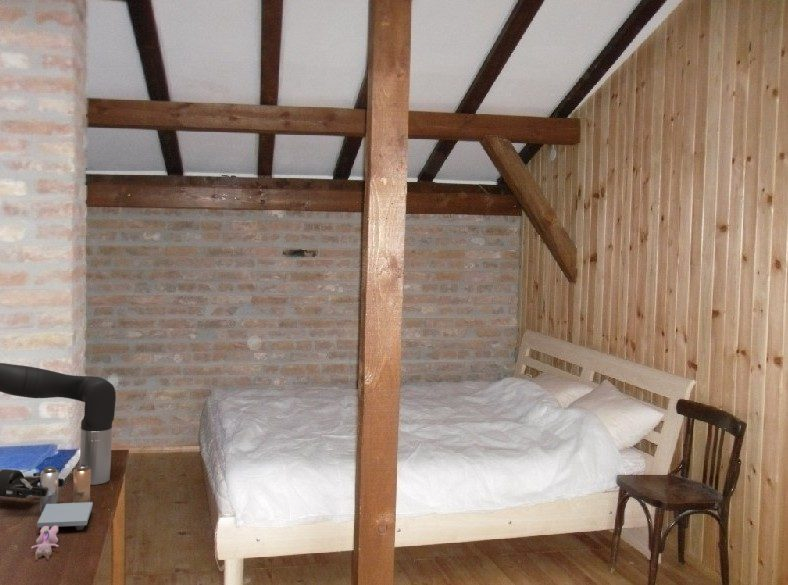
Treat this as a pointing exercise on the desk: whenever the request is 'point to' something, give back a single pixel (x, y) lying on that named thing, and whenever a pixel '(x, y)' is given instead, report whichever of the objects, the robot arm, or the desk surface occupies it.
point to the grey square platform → (65, 515)
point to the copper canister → (81, 484)
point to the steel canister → (49, 486)
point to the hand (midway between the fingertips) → (54, 487)
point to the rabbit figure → (46, 541)
